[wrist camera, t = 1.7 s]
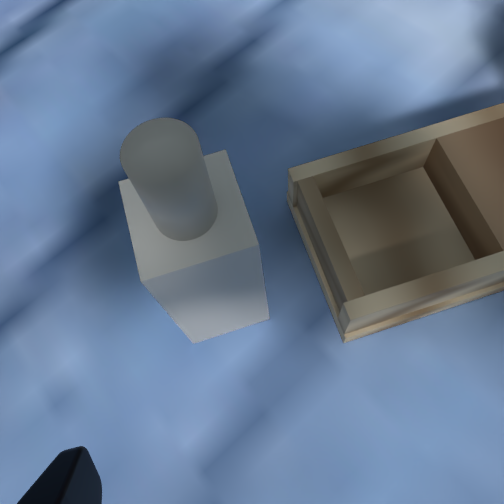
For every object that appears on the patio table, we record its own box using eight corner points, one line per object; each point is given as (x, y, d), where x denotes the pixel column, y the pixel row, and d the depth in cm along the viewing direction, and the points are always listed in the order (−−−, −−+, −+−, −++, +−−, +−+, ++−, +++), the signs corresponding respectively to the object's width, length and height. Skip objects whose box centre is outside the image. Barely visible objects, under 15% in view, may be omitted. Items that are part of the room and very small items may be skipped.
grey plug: (269, 319, 23) (250, 187, 12) (193, 343, 23) (100, 234, 12) (246, 250, 25) (210, 76, 14) (175, 272, 25) (77, 116, 13)
